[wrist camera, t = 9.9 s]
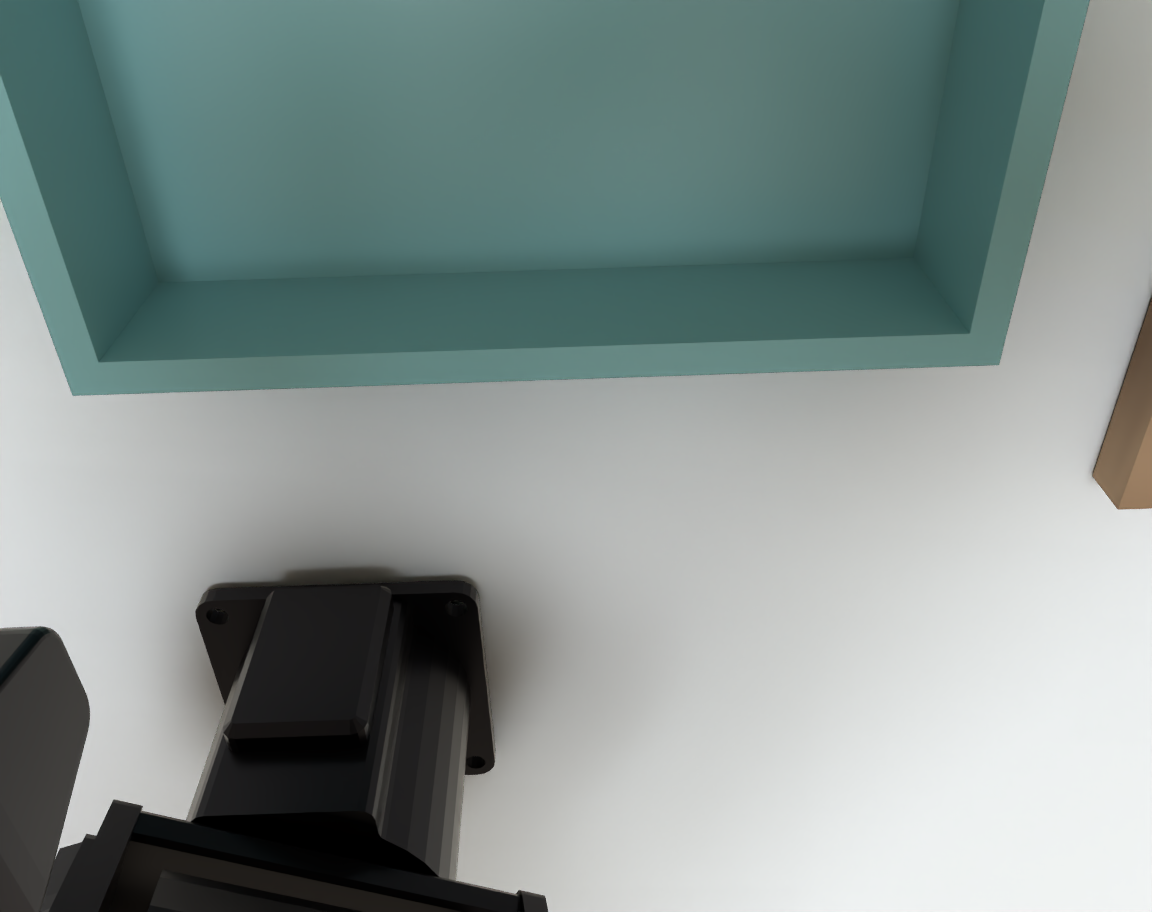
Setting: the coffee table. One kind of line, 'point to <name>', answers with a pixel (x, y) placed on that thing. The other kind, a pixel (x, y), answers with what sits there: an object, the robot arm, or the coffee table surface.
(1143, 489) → the pallet
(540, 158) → the tote
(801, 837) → the coffee table surface
